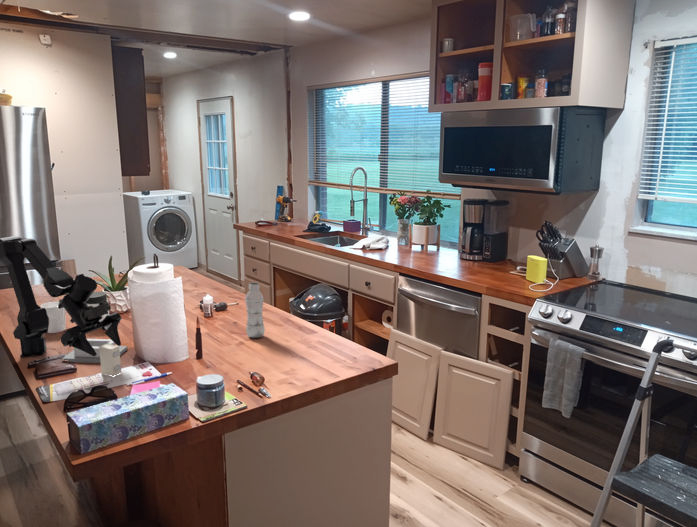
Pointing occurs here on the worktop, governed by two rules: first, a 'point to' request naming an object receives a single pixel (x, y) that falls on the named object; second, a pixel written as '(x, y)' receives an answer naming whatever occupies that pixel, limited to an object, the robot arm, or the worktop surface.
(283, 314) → the worktop surface
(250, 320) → the plastic bottle
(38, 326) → the robot arm
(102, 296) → the jar
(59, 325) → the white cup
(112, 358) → the cream rectangular block
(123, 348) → the hinge base
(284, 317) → the worktop surface
